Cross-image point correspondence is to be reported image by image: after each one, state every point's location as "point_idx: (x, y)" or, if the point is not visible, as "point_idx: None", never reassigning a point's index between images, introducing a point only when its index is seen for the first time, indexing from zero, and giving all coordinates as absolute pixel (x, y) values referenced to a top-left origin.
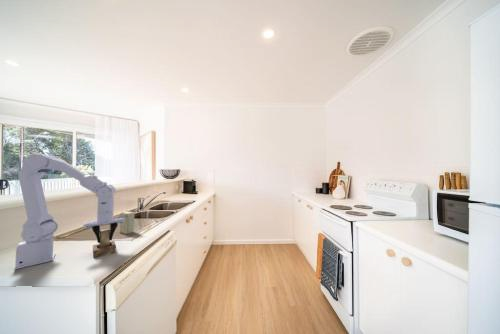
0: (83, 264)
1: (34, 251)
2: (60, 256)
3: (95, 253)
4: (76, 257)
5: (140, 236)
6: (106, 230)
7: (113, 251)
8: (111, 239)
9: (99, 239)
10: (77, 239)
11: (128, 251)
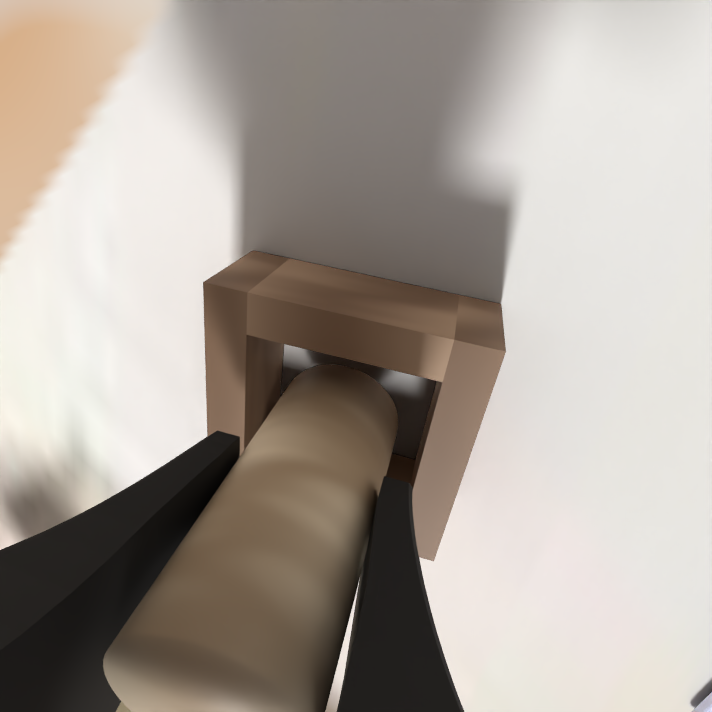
0: (687, 160)
1: None
2: (687, 637)
3: (479, 321)
4: (613, 488)
5: (8, 481)
6: (177, 668)
7: (271, 259)
8: (211, 436)
9: (380, 518)
10: None
11: (115, 115)
